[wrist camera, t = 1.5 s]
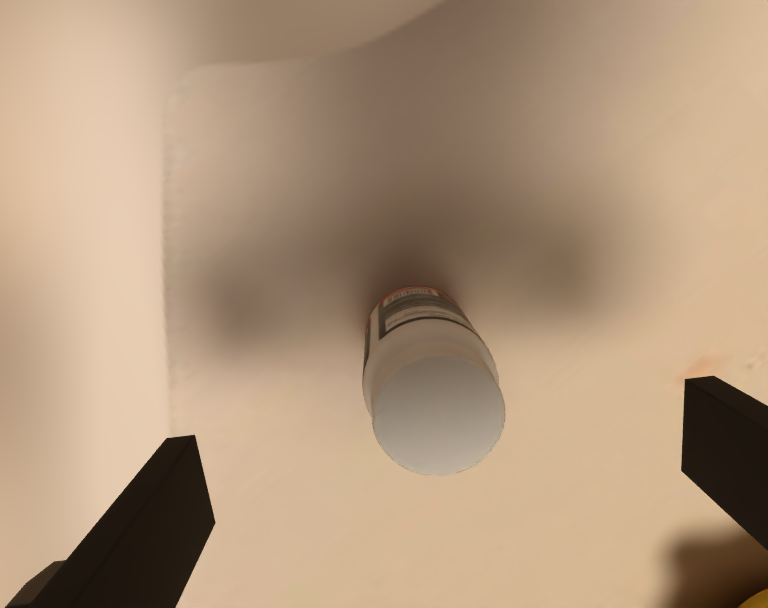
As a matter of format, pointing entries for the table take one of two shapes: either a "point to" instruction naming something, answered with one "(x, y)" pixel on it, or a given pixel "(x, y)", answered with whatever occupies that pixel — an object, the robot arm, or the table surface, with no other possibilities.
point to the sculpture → (757, 601)
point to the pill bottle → (430, 384)
